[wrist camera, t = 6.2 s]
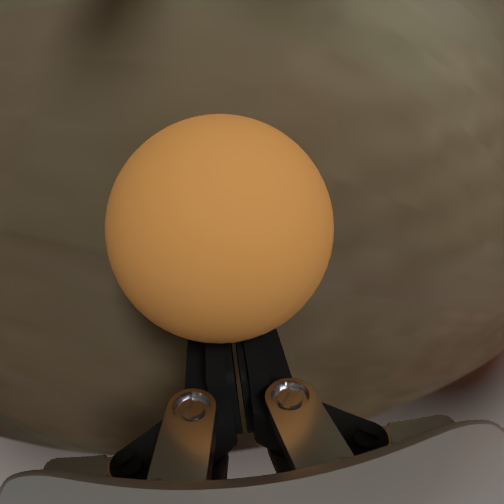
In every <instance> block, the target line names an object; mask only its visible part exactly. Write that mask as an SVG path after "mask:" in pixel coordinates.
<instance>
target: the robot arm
mask: <svg viewBox="0 0 504 504" xmlns="http://www.w3.org/2000/svg"><path fill="white" fill-rule="evenodd" d="M236 350H237V359H238V367H239V374H240V382H241V389H242V396H243V403H244V410H245V417H246V424H247V431H248V433H250V432H254V436H255V440H256V442H257V443H259V444H261V445H263V446H264V447H266V448H267V450H268V453H269V456H270V459H271V461H272V464H273V466H274V468H275V471H276V474H270V475H263V476H255V477H246V478H236V479H227V471H228V459H229V456H228V452H229V451H230V450H231V449H232V448H233V447H234V446H235V445H237V434H241V433H242V425H241V417H240V410H239V402H238V394H237V385H236V377H235V369H234V360H233V352H232V345H231V343H222V344H219V343H204V342H198V341H193V340H189V339H188V349H187V364H186V380H185V390H182V391H180V392H178V393H176V394H174V395H173V396H172V397H171V398H170V400H169V402H168V404H167V407H166V411H165V414H164V418H163V420H162V421H160V422H159V423H158V424H156V425H155V426H154V427H152V428H151V429H150V430H148V431H147V432H145V433H144V434H143V435H141V436H140V437H139V438H137V439H136V440H134V441H133V442H131V443H130V444H129V445H127V446H126V447H124V448H123V449H121V450H120V451H118V452H117V453H116V454H115V455H114V456H113V457H107V456H106V455H98V456H86V457H69V458H56V459H52V460H50V461H49V462H47V463H46V465H45V466H44V469H43V470H30V471H24V472H20V473H17V474H14V475H12V476H10V477H8V478H7V479H6V480H5V481H4V482H3V484H2V485H1V487H0V504H504V428H502V427H501V426H500V425H498V424H497V423H495V422H492V421H489V420H466V421H460V422H454V420H453V419H451V418H450V417H449V416H446V415H433V416H428V417H422V418H417V419H411V420H405V421H397V422H390V423H388V424H387V426H380V425H378V424H376V423H374V422H371V421H369V420H366V419H363V418H360V417H358V416H355V415H353V414H350V413H347V412H345V411H342V410H340V409H337V408H335V407H332V406H330V405H327V404H325V403H323V402H321V401H320V399H319V397H318V396H317V394H316V393H315V391H314V389H313V388H312V387H311V386H310V384H309V383H307V382H305V381H304V380H301V379H297V378H292V376H291V373H290V370H289V367H288V364H287V361H286V358H285V354H284V351H283V348H282V345H281V342H280V339H279V336H278V332H277V330H276V329H273V330H271V331H270V332H268V333H266V334H263V335H260V336H258V337H255V338H252V339H249V340H244V341H240V342H236Z"/></svg>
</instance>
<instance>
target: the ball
mask: <svg viewBox="0 0 504 504" xmlns="http://www.w3.org/2000/svg"><path fill="white" fill-rule="evenodd" d="M333 237H334V221H333V211H332V206H331V202H330V197H329V194H328V191H327V189H326V186H325V183H324V181H323V179H322V177H321V175H320V173H319V171H318V169H317V168H316V166H315V165H314V163H313V162H312V161H311V159H310V158H309V156H308V155H307V154H306V153H305V152H304V151H303V150H302V149H301V147H300V146H298V145H297V144H296V143H295V142H294V141H293V140H292V139H290V138H289V137H288V136H286V135H285V134H283V133H282V132H280V131H279V130H277V129H276V128H274V127H272V126H270V125H268V124H266V123H263V122H260V121H258V120H255V119H252V118H248V117H243V116H239V115H230V114H208V115H202V116H196V117H192V118H188V119H185V120H182V121H179V122H177V123H174V124H172V125H170V126H168V127H166V128H164V129H163V130H161V131H159V132H158V133H156V134H154V135H153V136H152V137H150V138H149V139H148V140H147V141H145V142H144V143H143V144H142V145H141V146H140V147H139V148H138V149H137V150H136V151H135V152H134V153H133V154H132V155H131V157H130V158H129V159H128V161H127V162H126V163H125V165H124V166H123V168H122V169H121V171H120V173H119V175H118V176H117V178H116V180H115V183H114V185H113V188H112V190H111V193H110V196H109V200H108V204H107V208H106V217H105V241H106V248H107V254H108V258H109V261H110V265H111V268H112V271H113V273H114V275H115V277H116V280H117V282H118V284H119V286H120V287H121V289H122V290H123V292H124V294H125V295H126V297H127V298H128V299H129V300H130V302H131V303H132V304H133V305H134V306H135V307H136V309H137V310H138V311H140V312H141V313H142V314H143V315H144V316H145V317H146V318H147V319H149V320H150V321H151V322H153V323H154V324H156V325H157V326H159V327H160V328H162V329H164V330H166V331H168V332H170V333H172V334H174V335H177V336H180V337H183V338H186V339H189V340H193V341H198V342H204V343H219V344H222V343H234V342H240V341H244V340H249V339H252V338H255V337H258V336H260V335H263V334H266V333H268V332H270V331H271V330H273V329H275V328H277V327H279V326H280V325H282V324H283V323H285V322H286V321H287V320H289V319H290V318H291V317H293V316H294V315H295V314H296V313H297V312H298V311H299V310H300V309H301V308H302V307H303V306H304V305H305V303H306V302H307V301H308V300H309V299H310V297H311V296H312V295H313V293H314V292H315V290H316V289H317V287H318V285H319V284H320V282H321V280H322V278H323V276H324V273H325V271H326V269H327V266H328V263H329V259H330V256H331V251H332V245H333Z"/></svg>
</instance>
